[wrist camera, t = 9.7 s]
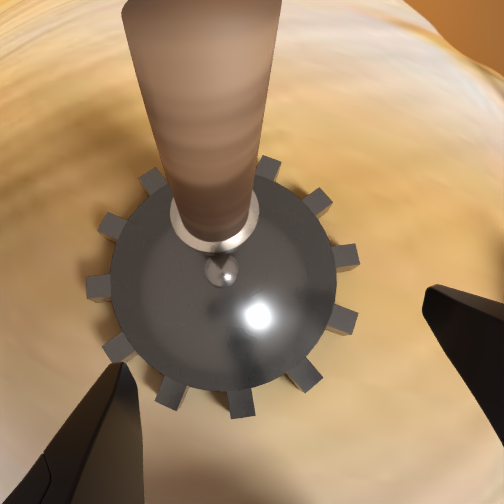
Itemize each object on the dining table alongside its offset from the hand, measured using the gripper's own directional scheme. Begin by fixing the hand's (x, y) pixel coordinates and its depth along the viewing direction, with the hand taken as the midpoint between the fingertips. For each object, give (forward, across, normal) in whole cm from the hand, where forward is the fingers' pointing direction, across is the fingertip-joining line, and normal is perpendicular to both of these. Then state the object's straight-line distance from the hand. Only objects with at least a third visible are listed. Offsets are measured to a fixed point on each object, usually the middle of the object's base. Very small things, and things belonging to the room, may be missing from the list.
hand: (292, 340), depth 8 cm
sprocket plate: (+10, +1, +4) cm, 11 cm away
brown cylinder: (+12, +1, 0) cm, 12 cm away
